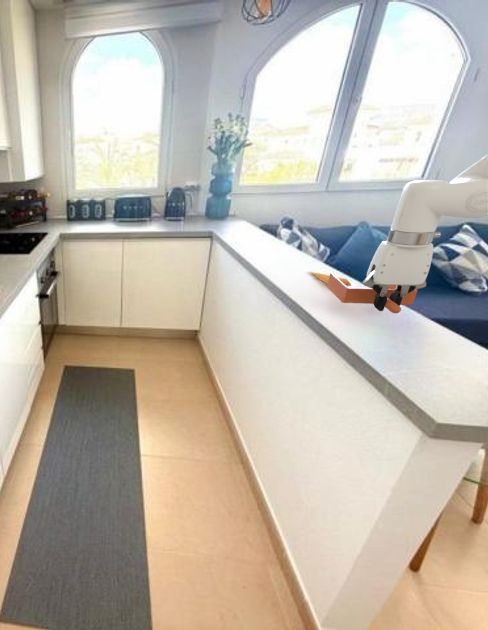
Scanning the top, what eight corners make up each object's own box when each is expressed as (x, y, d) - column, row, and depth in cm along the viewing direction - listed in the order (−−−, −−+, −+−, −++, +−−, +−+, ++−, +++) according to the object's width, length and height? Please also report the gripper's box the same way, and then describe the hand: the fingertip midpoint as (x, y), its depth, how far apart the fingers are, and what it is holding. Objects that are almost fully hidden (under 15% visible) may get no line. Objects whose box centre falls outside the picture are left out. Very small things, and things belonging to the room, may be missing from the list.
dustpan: (326, 286, 104) (330, 273, 102) (387, 288, 99) (392, 273, 97) (357, 318, 85) (362, 302, 84) (433, 321, 81) (440, 304, 79)
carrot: (347, 295, 110) (356, 282, 108) (335, 290, 110) (343, 278, 108) (312, 279, 129) (319, 268, 127) (301, 275, 128) (308, 264, 127)
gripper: (442, 233, 80) (415, 304, 88) (360, 234, 85) (341, 302, 93) (465, 241, 74) (433, 317, 82) (375, 241, 79) (353, 314, 86)
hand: (384, 308), depth 87 cm, fingers closed on dustpan, 2 cm apart
